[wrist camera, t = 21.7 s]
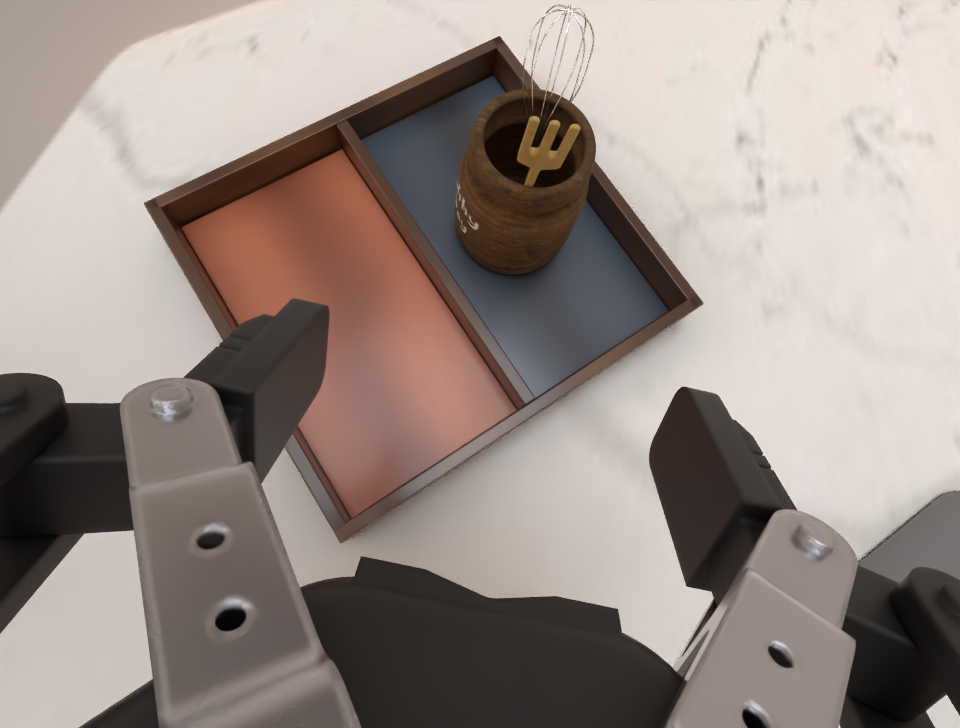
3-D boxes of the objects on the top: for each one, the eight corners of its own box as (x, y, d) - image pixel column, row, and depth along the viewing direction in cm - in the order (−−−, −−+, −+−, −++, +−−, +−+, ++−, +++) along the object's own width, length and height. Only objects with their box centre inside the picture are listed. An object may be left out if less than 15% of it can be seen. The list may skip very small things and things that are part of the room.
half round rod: (1008, 556, 27) (1048, 561, 25) (718, 816, 23) (741, 843, 21) (951, 483, 27) (987, 483, 26) (660, 723, 23) (678, 741, 22)
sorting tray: (349, 538, 24) (340, 543, 22) (169, 230, 27) (142, 202, 24) (679, 320, 28) (704, 303, 26) (494, 72, 31) (499, 35, 28)
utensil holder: (570, 186, 29) (665, -24, 17) (558, 294, 27) (654, 142, 15) (462, 167, 28) (485, -61, 17) (444, 274, 27) (454, 104, 15)
